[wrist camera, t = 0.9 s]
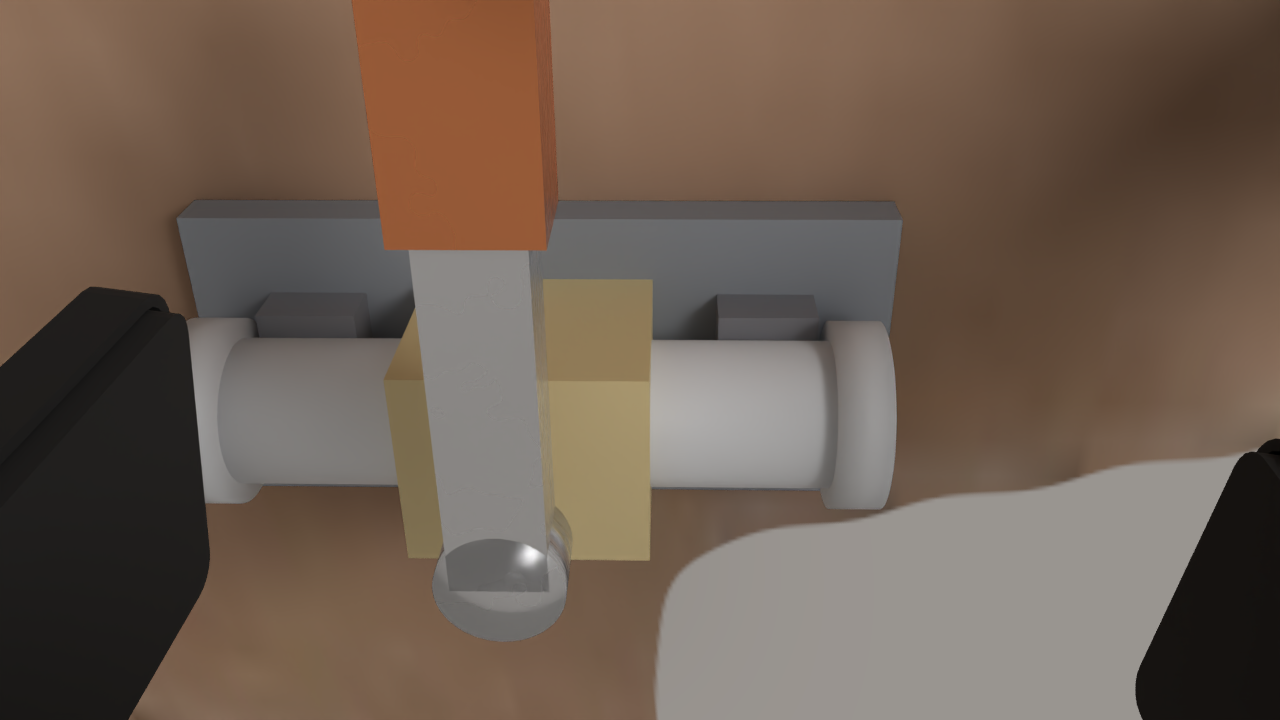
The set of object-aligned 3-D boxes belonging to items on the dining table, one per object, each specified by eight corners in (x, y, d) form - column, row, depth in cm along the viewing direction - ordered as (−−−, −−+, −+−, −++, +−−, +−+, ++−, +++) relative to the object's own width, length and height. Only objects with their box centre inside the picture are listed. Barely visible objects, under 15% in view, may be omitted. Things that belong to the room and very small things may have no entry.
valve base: (894, 201, 35) (970, 364, 26) (864, 466, 40) (920, 678, 31) (194, 199, 35) (34, 359, 26) (251, 461, 40) (132, 668, 31)
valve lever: (542, -154, 21) (526, -139, 18) (575, 580, 29) (567, 651, 27) (370, -154, 21) (333, -138, 19) (454, 578, 29) (436, 649, 27)
